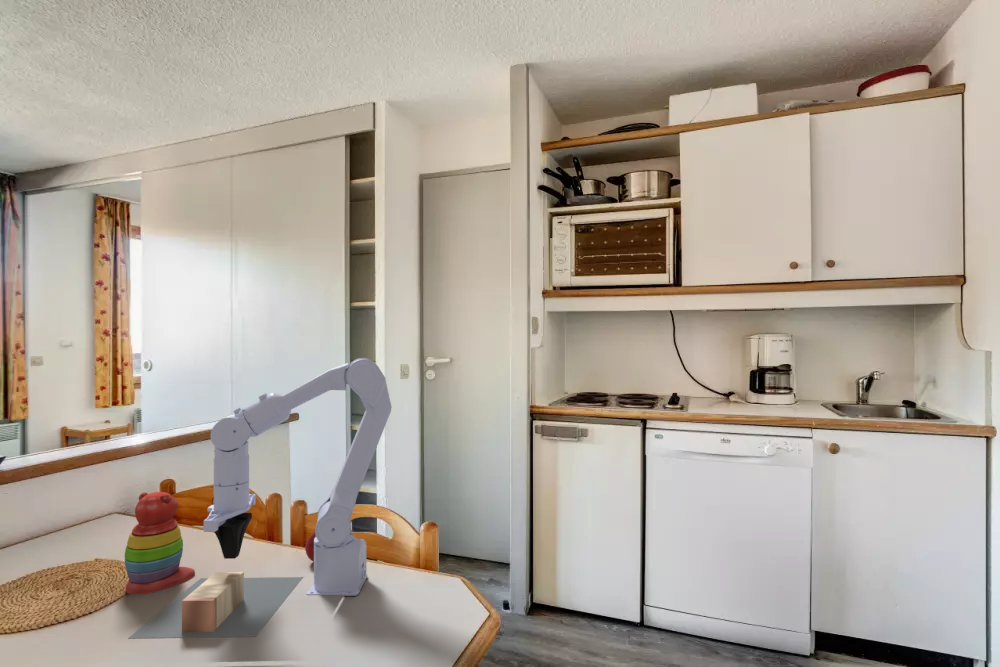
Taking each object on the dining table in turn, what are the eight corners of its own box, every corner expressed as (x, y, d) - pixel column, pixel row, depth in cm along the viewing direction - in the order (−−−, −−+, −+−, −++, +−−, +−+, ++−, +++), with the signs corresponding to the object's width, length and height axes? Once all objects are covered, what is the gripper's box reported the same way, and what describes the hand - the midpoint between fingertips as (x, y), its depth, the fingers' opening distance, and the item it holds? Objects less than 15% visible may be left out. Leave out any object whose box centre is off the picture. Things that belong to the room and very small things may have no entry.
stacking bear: (200, 575, 102) (200, 486, 102) (154, 600, 92) (154, 502, 92) (158, 569, 105) (158, 483, 105) (108, 593, 95) (109, 497, 95)
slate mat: (303, 579, 100) (303, 577, 100) (255, 639, 80) (255, 636, 80) (200, 580, 100) (200, 578, 100) (127, 641, 80) (127, 638, 80)
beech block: (243, 571, 91) (213, 600, 81) (243, 599, 91) (213, 631, 81) (215, 572, 91) (181, 600, 81) (215, 600, 91) (181, 632, 81)
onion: (325, 571, 104) (325, 532, 104) (299, 568, 105) (299, 530, 105) (339, 559, 109) (339, 521, 109) (315, 556, 110) (315, 520, 111)
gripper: (230, 471, 99) (230, 541, 99) (185, 494, 85) (185, 575, 85) (266, 471, 100) (266, 540, 99) (227, 494, 85) (227, 575, 85)
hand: (231, 557), depth 92 cm, fingers closed
